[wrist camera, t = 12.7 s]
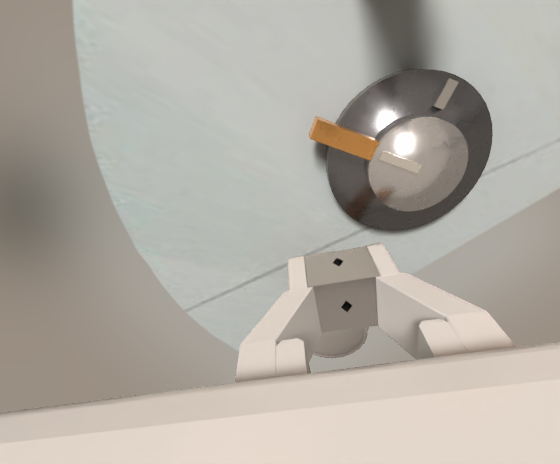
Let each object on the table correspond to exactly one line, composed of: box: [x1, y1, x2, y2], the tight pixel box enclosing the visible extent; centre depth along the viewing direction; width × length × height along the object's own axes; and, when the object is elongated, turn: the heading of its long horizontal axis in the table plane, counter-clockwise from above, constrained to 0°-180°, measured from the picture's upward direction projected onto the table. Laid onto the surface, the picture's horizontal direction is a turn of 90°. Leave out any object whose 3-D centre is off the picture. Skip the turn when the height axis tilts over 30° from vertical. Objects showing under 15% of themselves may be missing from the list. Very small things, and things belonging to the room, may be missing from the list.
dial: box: [309, 114, 468, 211], centre depth 35 cm, size 18×11×3 cm, turn 71°
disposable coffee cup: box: [313, 327, 368, 358], centre depth 44 cm, size 10×10×12 cm
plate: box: [326, 69, 492, 230], centre depth 38 cm, size 20×20×2 cm
